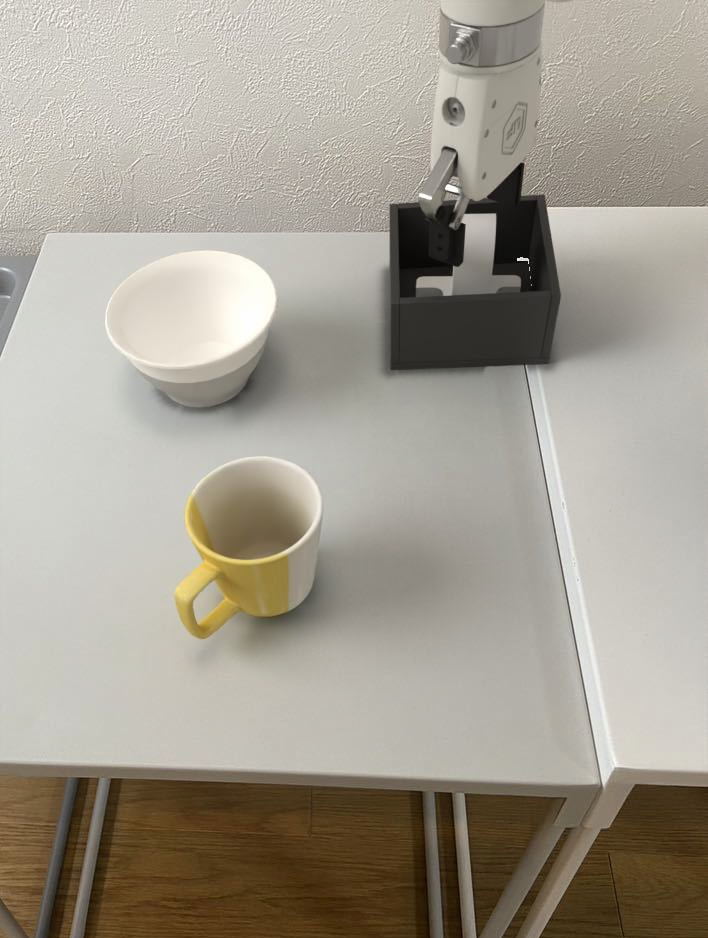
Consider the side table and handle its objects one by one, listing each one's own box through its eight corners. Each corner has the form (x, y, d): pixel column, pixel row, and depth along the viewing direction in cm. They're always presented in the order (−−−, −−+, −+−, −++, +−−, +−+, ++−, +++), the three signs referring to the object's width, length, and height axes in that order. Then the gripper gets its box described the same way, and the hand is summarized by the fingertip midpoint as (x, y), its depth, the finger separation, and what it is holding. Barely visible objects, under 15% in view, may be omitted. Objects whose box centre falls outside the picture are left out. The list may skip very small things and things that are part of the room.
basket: (534, 263, 95) (544, 193, 88) (548, 363, 87) (561, 295, 80) (389, 271, 97) (389, 203, 90) (390, 370, 89) (390, 304, 82)
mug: (279, 516, 81) (266, 433, 72) (356, 590, 76) (352, 509, 67) (150, 604, 77) (119, 528, 68) (221, 687, 72) (198, 616, 63)
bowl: (231, 299, 97) (219, 227, 90) (318, 383, 89) (312, 311, 82) (98, 368, 94) (74, 299, 87) (176, 461, 86) (157, 394, 78)
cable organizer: (518, 328, 89) (532, 237, 80) (413, 328, 90) (416, 239, 82) (518, 291, 91) (531, 200, 83) (416, 292, 93) (419, 202, 85)
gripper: (473, 97, 65) (460, 299, 79) (592, -15, 71) (560, 190, 85) (383, 74, 68) (385, 272, 82) (504, -31, 74) (487, 169, 88)
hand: (474, 230), depth 84 cm, fingers open, 9 cm apart
